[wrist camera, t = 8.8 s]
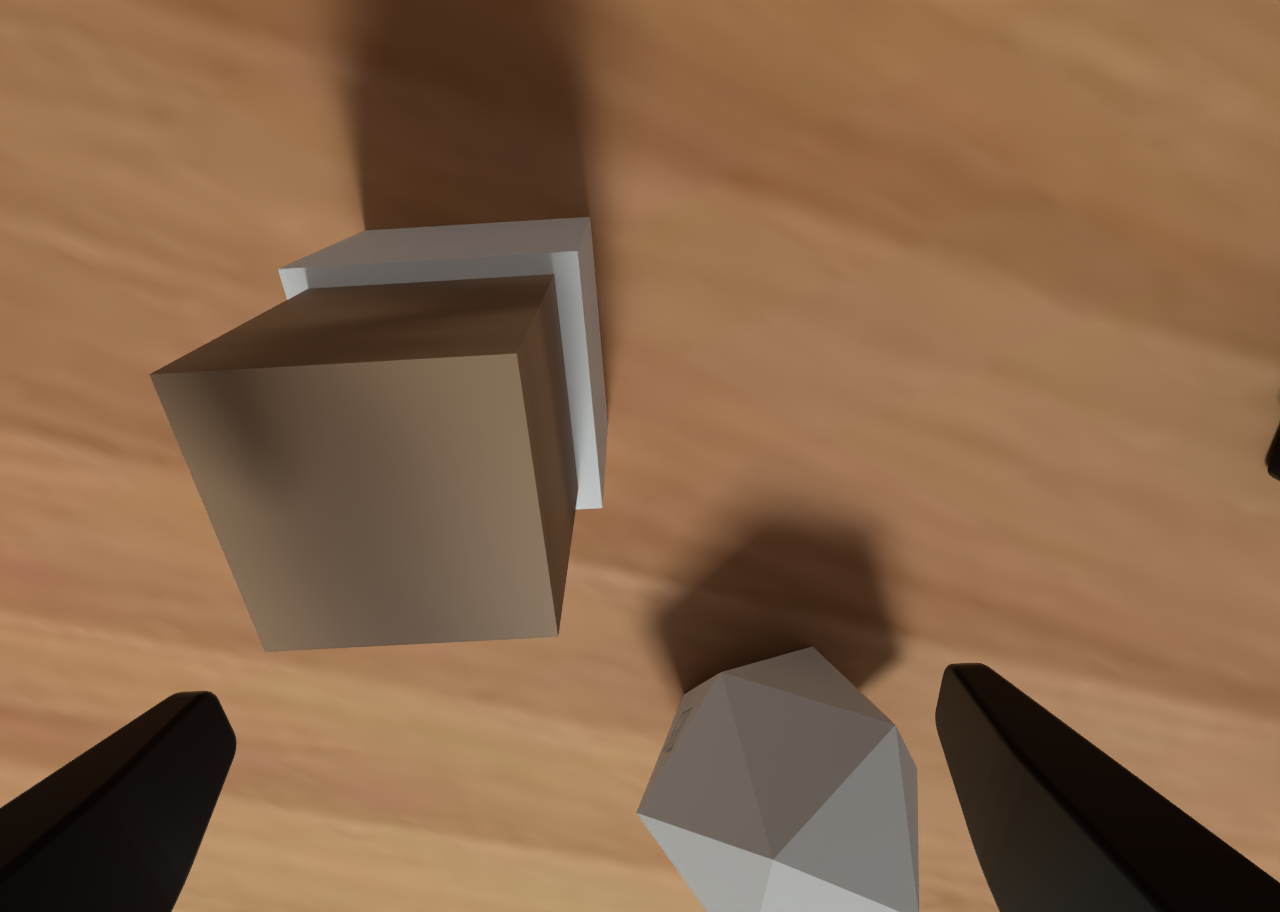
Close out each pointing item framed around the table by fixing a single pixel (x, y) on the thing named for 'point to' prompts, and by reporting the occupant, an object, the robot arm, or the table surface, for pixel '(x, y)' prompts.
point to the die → (787, 794)
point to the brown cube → (387, 461)
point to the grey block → (491, 256)
